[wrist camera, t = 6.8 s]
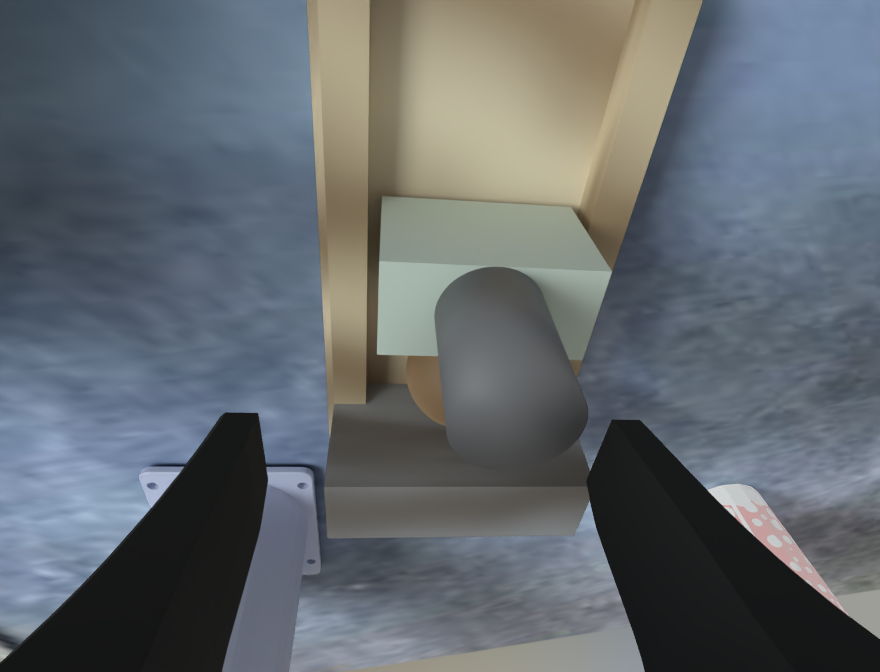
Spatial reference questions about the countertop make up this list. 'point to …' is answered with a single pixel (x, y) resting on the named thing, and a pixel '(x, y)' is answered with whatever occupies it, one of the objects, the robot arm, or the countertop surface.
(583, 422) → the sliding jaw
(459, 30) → the base
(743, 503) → the beverage cup
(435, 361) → the nut
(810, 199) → the countertop surface
